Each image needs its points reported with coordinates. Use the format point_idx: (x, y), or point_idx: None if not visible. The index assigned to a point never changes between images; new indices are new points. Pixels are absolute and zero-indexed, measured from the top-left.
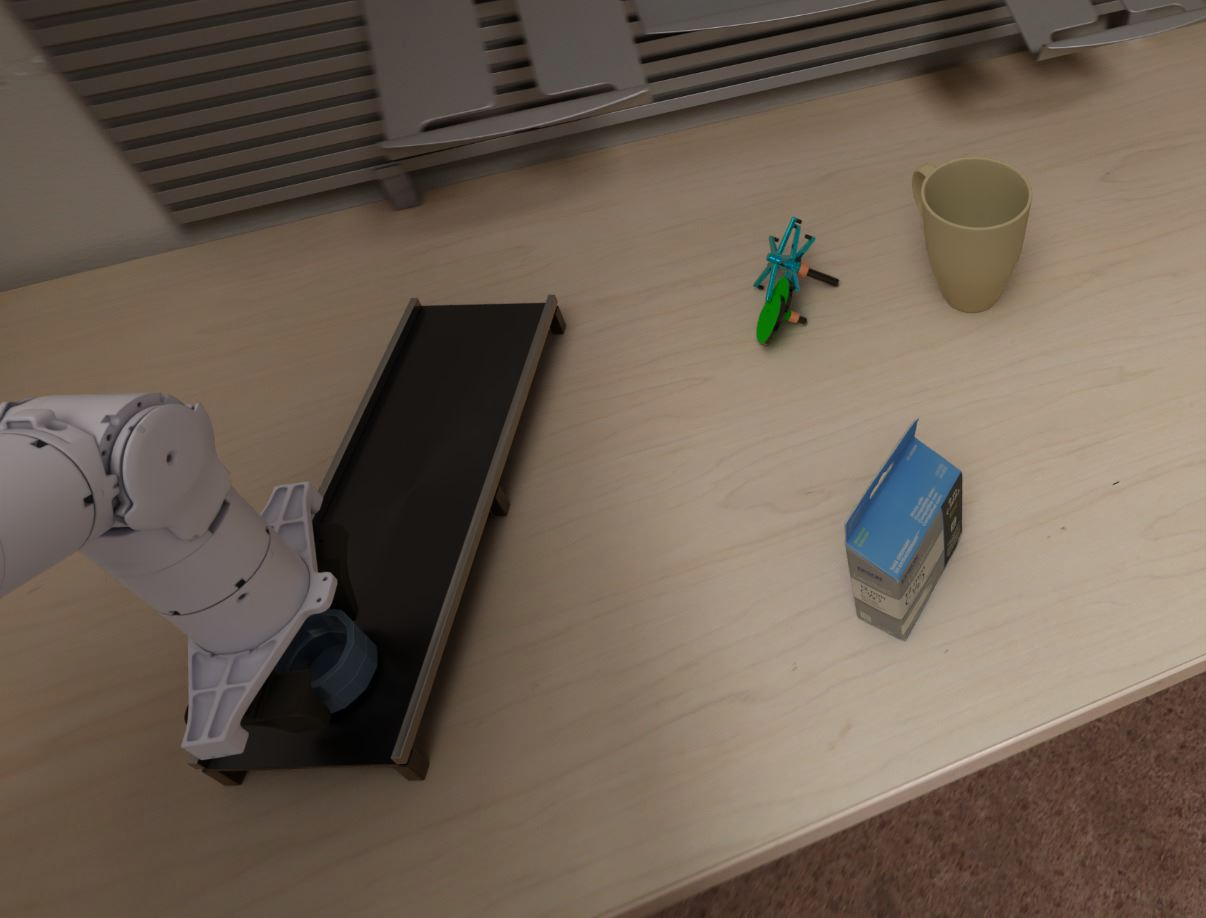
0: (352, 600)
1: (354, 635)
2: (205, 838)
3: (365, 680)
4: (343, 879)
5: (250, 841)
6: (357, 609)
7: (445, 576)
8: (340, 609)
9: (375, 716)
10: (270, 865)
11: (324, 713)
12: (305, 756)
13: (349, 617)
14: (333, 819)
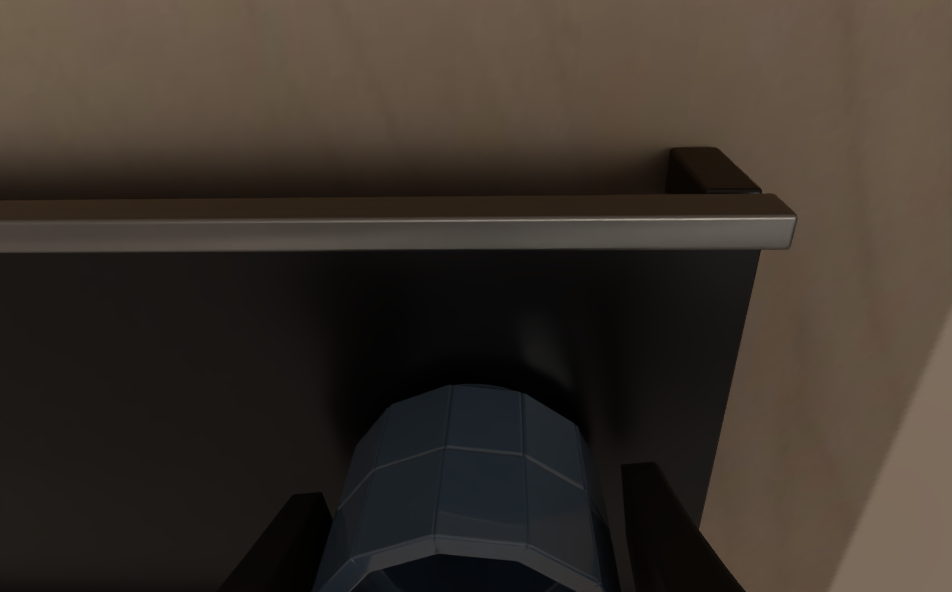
0: (265, 559)
1: (402, 540)
2: (745, 534)
3: (507, 407)
4: (918, 268)
5: (771, 467)
6: (289, 506)
7: (123, 277)
8: (301, 571)
9: (598, 337)
10: (832, 420)
11: (663, 511)
12: (687, 465)
13: (318, 518)
14: (766, 335)
